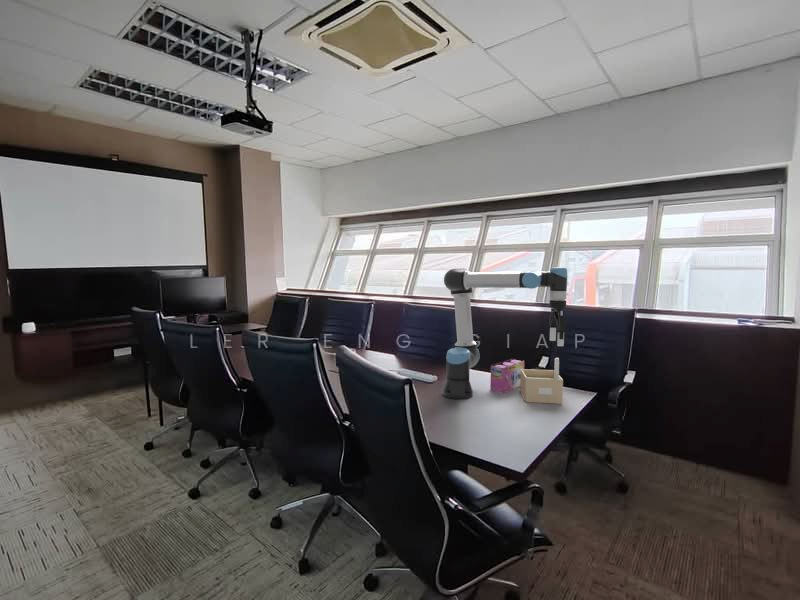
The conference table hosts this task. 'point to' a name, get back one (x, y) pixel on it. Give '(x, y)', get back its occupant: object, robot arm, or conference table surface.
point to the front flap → (545, 388)
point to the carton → (533, 374)
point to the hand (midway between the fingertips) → (556, 343)
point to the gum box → (506, 375)
